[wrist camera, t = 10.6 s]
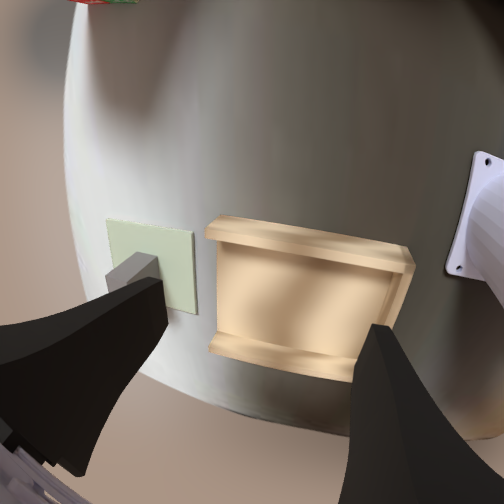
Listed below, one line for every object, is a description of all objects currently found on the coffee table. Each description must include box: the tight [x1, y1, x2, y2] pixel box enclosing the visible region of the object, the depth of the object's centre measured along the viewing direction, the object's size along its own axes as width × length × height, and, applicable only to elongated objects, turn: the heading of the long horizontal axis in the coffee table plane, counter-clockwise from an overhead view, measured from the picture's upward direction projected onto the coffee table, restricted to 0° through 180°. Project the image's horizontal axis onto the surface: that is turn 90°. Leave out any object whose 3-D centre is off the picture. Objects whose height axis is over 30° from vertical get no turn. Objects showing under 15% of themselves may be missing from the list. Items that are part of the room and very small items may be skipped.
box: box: [205, 215, 416, 382], centre depth 18 cm, size 12×10×2 cm
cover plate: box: [105, 218, 197, 314], centre depth 21 cm, size 8×7×5 cm
